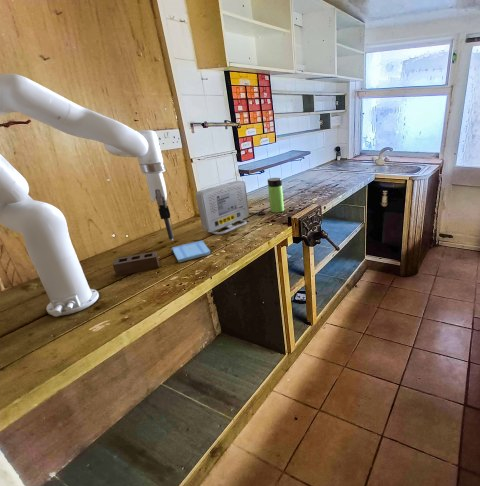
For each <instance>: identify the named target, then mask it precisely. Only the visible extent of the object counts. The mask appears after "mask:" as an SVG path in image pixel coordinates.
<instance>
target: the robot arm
mask: <svg viewBox="0 0 480 486" xmlns="http://www.w3.org/2000/svg"><path fill="white" fill-rule="evenodd" d="M11 113H19V114H22V115H24V116H27V117H28V118H30V119H33V120H36V121H38V122H40V123H43V124H45V125H47V126H49V127H52V128H53V129H55V130H58V131H60V132H62V133H64V134H67V135H70V136H74V137H77V138H81V139H87V140H91V141H96V142H99V143H102V144H103V147H104V148H105V150H106V151H107V152H108V153H109V154H111V155H113V156H116V157H124V158H137V161H138V165H139V168H140V171H141V174H142V175H145V179H146V185H147V188H148V193H149V196H150V201H151V203H155V202H156V204H157V210H158V214H159V218H160V219H161V220H164V219H167V218H169V219H170V218H171V211H170V208H169V205H168V202H167V198H168V191H167V187H166V182H165V178H164V172H166V167H165V162H164V159H163V158H164V157H163V155H162V151H161V148H160V142H159V138H158V135H157V133H156V131H154V130H152V129H140V130H135V129H133V128H131V127H130V126H128V125H125V124H124V123H122V122H120V121H118V120H115V119H113V118H111V117H108V116H106V115H104V114H101V113H99V112H96V111H94V110H91V109H89V108H86V107H84V106H81V105H79V104H77V103H75V102H73V101H71V100H70V99H68V98H66V97H65V96H62V95H60V94H59V93H57V92H55V91H53V90H51V89H49V88H47V87H45V86H44V85H41V84H40V83H37V82H36V81H34V80H32V79H30V78H29V77H26V76H23V75H22V74H21V75H20V74H18V73H2V74H0V116H2V115H6V114H11ZM29 193H30V186H29V183H28V181H27V180H26V178H25V177H24V176H23V174H21V173H20V172H19V171H18V170H17V169H16V168H15V167H14V166H13V165H12V164H11V163H10V162H9V161H8V160H7V159H6V158H5V157H4V156H3V155H2V153H0V224H1V225H3V227H6V228H7V229H9V230H11V231H13V232H17V233H18V234H21V235H22V238H23V240H24V246H25V248H26V252H27V255H28V257H29V259H30V262H31V263H32V265H33V268H34V270H35V272H36V274H37V276H38V278H39V280H40V282H41V284H42V287H43V289H44V291H45V293H46V295H47V297H48V299H49V301H50V302H49V303H48V304H47V305H46V312H47V314H48V315H51V316H53V317H60V316H67V315H71V314H75V313H78V312H80V311H83V310H85V309H87V308H89V307H90V306H92V305H94V303H96V302H97V300H98V299H99V298H100V293H99V291H98V290H96V289H93V288H90V285H89V284H88V283H89V282H88V281H87V278H86V275H85V273H84V271H83V267H82V266H81V263H80V261H79V259H78V256H77V253H76V251H75V248H74V246H73V242H72V240H71V237H70V233H69V227H68V222H67V219H66V217H65V215H64V213H63V212H62V211H61V210H60V209H59V208H57V207H56V206H55V205H52V204H51V203H48V202H44V201H40V200H36V199H35V200H34V199H33V198H32V197H31V196H30V195H29Z"/></svg>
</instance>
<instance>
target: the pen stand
mask: <svg viewBox="0 0 480 486" xmlns="http://www.w3.org/2000/svg"><path fill="white" fill-rule="evenodd" d="M112 267H113V270H114V273H115V276H116V277H121V276H126V275H130V274H135V273H140V272H144V271H151V270H156V269H160V258H159V255H158V251H157V250H155V251H150V252H144V253H139V254H134V255H127V256H122V257H116V258H114V260H113V263H112Z"/></svg>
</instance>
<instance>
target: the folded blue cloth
mask: <svg viewBox="0 0 480 486" xmlns="http://www.w3.org/2000/svg"><path fill="white" fill-rule="evenodd" d="M171 250H172V252H173V254H174V256H175V258H176V261H177V262H178V263H183V262H187V261H190V260H194V259H198V258H200V257H202V258H203V257H206V256H209V255H210V254H211V250H210V248H209V247H208V246H207V244H206V243H205V242H204V241H203V240H198V241H194V242H190V243H185V244H181V245H177V246H172V247H171Z"/></svg>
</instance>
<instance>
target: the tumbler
mask: <svg viewBox="0 0 480 486" xmlns="http://www.w3.org/2000/svg"><path fill="white" fill-rule="evenodd" d="M267 191H268V199H269V209H270V212H271V213H282V212H284V211H285V206H284V193H283V183H282V178H281V177H270V178H268V179H267Z"/></svg>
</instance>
